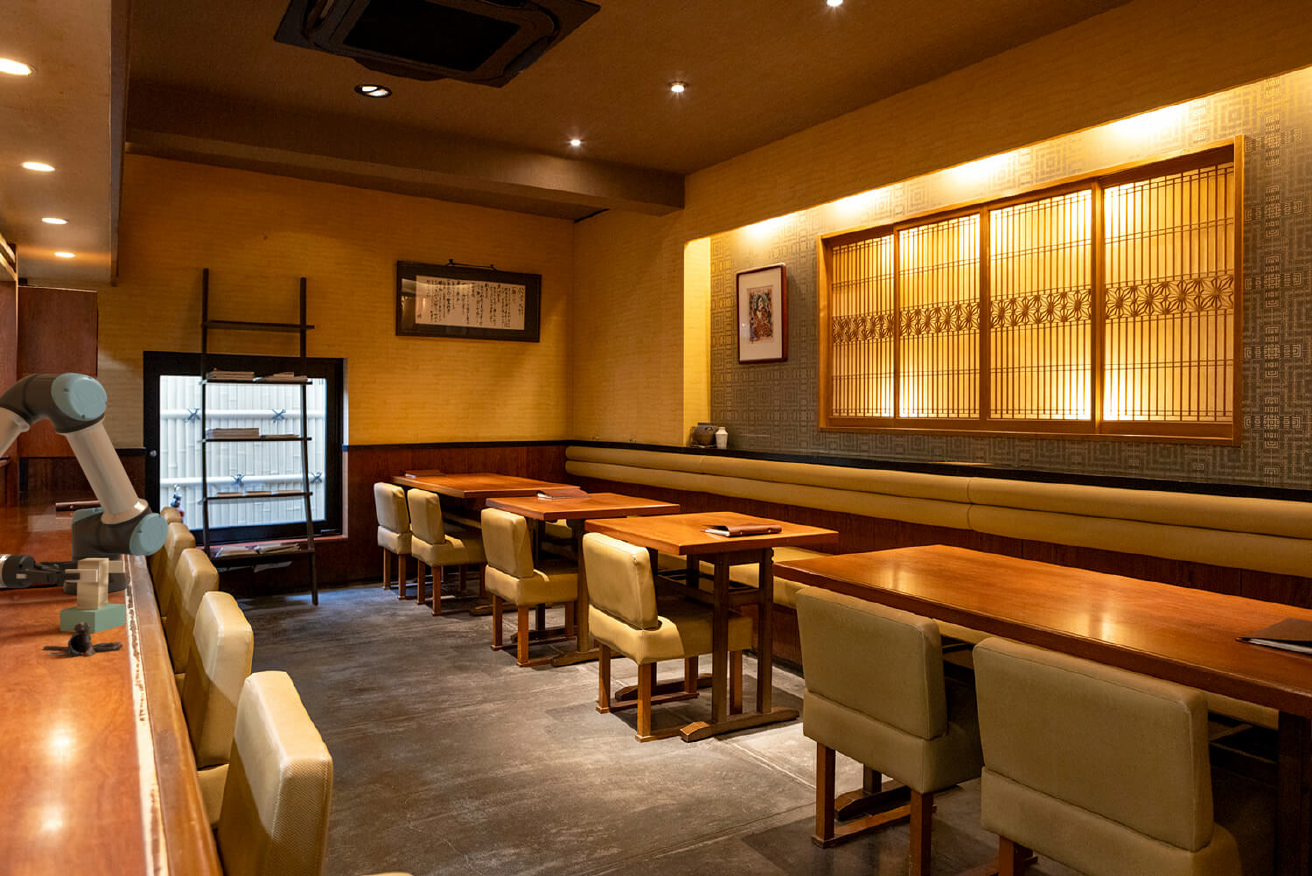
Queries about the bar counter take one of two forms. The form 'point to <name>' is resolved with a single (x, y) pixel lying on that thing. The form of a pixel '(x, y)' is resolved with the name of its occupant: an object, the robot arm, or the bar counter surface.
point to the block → (93, 584)
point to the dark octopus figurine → (83, 644)
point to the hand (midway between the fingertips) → (111, 571)
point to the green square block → (93, 617)
